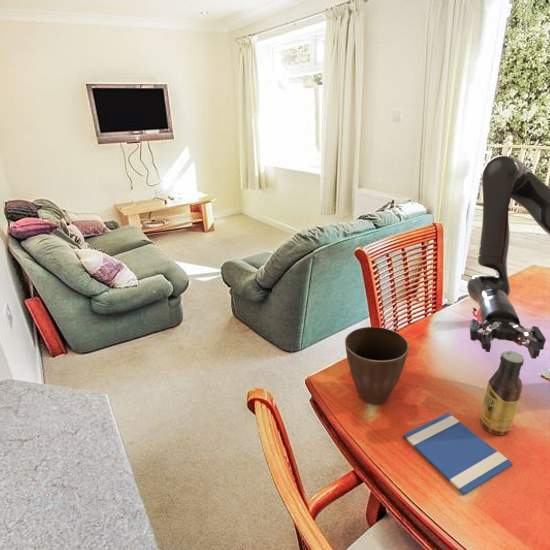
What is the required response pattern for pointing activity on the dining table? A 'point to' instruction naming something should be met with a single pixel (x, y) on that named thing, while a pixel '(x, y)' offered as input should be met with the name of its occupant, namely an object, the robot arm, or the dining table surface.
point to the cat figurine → (477, 315)
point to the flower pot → (375, 361)
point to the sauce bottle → (503, 395)
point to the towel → (457, 452)
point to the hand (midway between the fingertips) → (511, 351)
